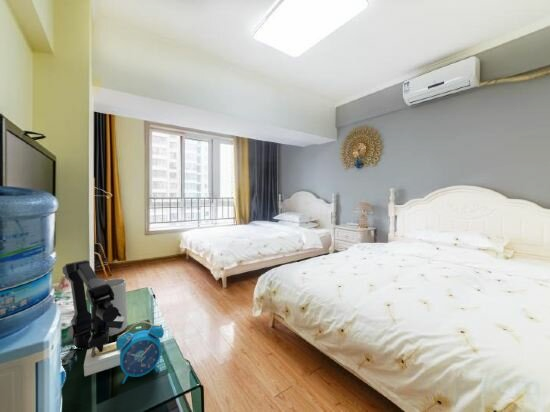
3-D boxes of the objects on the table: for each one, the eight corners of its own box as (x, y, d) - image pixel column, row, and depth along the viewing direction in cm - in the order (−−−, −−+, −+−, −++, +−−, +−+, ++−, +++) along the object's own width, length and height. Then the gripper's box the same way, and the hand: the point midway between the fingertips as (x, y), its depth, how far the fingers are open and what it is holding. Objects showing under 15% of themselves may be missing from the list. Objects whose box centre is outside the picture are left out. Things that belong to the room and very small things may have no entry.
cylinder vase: (132, 323, 131) (131, 279, 129) (115, 337, 119) (113, 288, 117) (111, 322, 132) (109, 278, 131) (92, 336, 120) (89, 287, 118)
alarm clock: (116, 390, 88) (114, 338, 86) (118, 372, 97) (115, 324, 95) (166, 373, 96) (165, 325, 95) (163, 357, 105) (162, 313, 104)
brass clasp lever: (123, 343, 106) (123, 341, 106) (123, 347, 104) (123, 345, 104) (96, 351, 101) (96, 349, 101) (95, 355, 99) (95, 353, 99)
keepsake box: (129, 348, 111) (128, 334, 111) (129, 361, 102) (128, 347, 102) (87, 360, 103) (86, 346, 102) (84, 376, 94) (83, 360, 94)
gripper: (122, 319, 96) (123, 356, 97) (122, 300, 112) (123, 333, 113) (87, 327, 90) (88, 367, 91) (93, 306, 106) (94, 340, 107)
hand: (101, 350), depth 101 cm, fingers closed, pressing on brass clasp lever
